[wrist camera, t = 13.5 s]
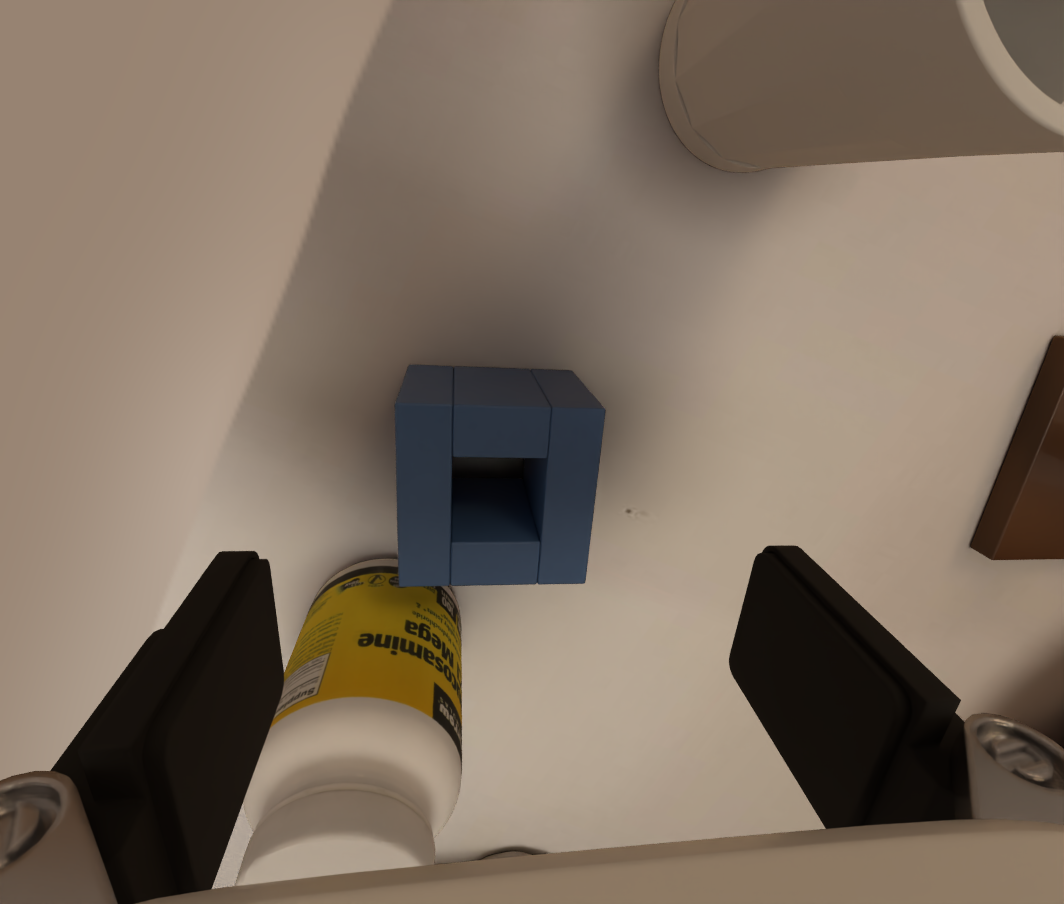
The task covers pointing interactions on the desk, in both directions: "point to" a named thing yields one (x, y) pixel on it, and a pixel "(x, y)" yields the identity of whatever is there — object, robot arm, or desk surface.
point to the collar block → (495, 503)
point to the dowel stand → (1031, 477)
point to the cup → (862, 80)
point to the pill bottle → (361, 733)
